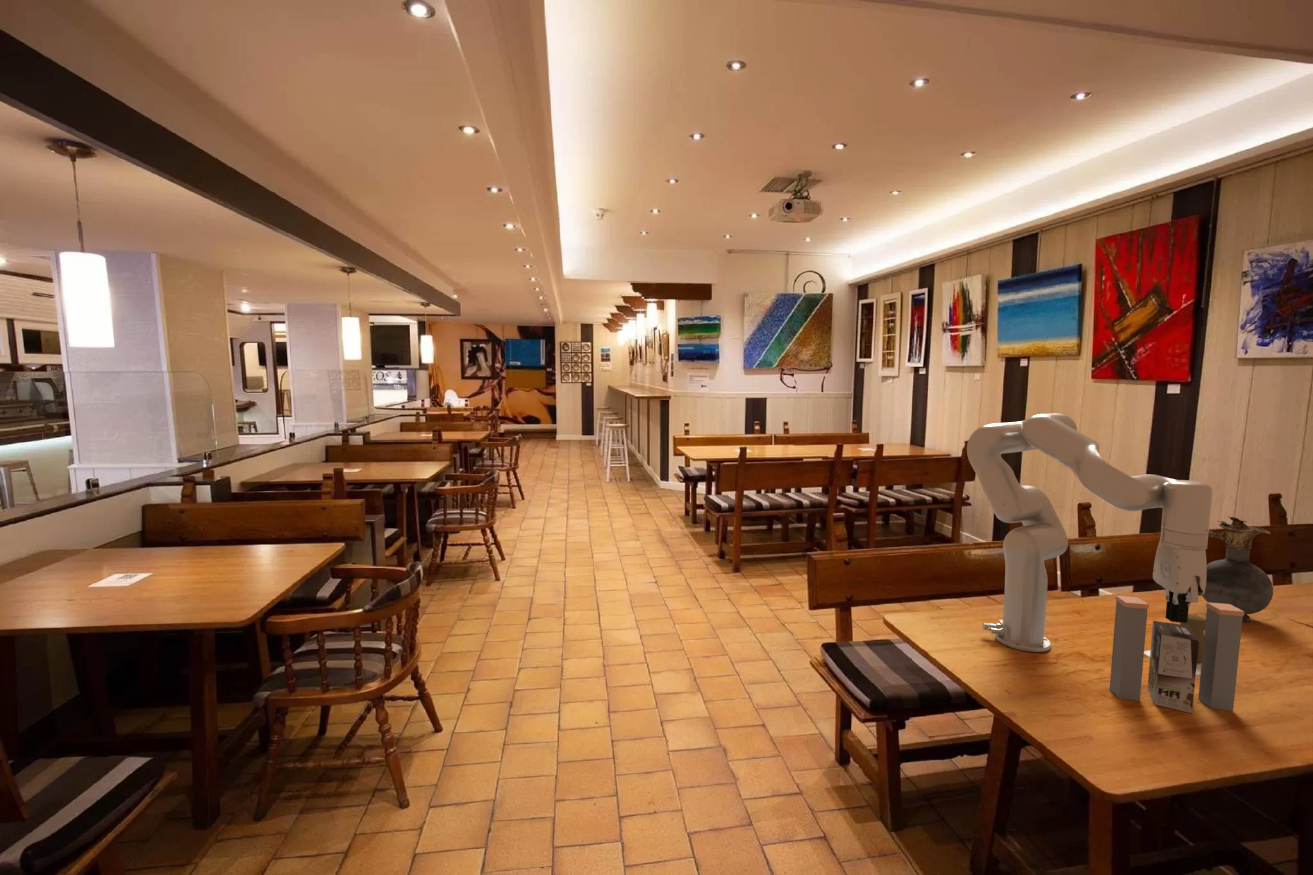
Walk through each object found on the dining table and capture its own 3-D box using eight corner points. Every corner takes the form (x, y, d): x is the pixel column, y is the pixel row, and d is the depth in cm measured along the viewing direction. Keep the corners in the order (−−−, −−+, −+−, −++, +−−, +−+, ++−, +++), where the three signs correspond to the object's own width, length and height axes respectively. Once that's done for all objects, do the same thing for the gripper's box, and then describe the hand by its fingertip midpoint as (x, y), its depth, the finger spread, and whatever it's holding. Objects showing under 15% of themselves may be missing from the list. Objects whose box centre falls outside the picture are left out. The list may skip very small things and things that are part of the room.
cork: (1212, 664, 144) (1216, 621, 143) (1184, 662, 145) (1188, 619, 144) (1195, 653, 150) (1199, 612, 149) (1168, 651, 151) (1172, 610, 150)
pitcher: (1263, 630, 163) (1274, 525, 160) (1175, 607, 179) (1184, 512, 176) (1274, 621, 169) (1285, 520, 166) (1188, 600, 185) (1197, 508, 182)
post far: (1210, 708, 125) (1220, 609, 122) (1197, 698, 129) (1206, 602, 127) (1234, 711, 124) (1244, 611, 121) (1220, 700, 128) (1229, 604, 126)
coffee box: (1193, 714, 123) (1200, 640, 121) (1154, 705, 126) (1160, 633, 124) (1183, 694, 130) (1190, 625, 129) (1146, 686, 134) (1152, 618, 132)
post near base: (1118, 698, 129) (1126, 602, 126) (1108, 688, 133) (1116, 595, 131) (1140, 701, 128) (1148, 604, 126) (1130, 691, 132) (1137, 597, 130)
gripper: (1143, 528, 133) (1136, 606, 135) (1185, 547, 118) (1177, 633, 120) (1182, 530, 131) (1175, 609, 133) (1229, 549, 116) (1221, 637, 118)
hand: (1176, 620), depth 126 cm, fingers closed
